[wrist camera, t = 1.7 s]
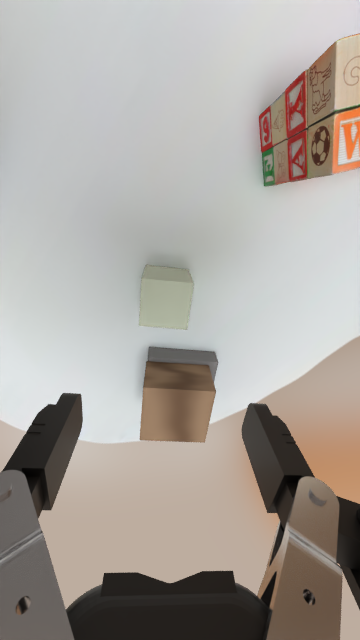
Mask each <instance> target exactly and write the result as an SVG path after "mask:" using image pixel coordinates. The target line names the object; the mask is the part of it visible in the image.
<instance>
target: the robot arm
mask: <svg viewBox="0 0 360 640" xmlns="http://www.w3.org/2000/svg"><path fill="white" fill-rule="evenodd" d="M82 421H83V417H82V400H81V394H73V393H63V394H62V395H61V397H60V398H59V400H58V402H57V404H56V405H52V404H48V405H47V406H46V407H45V408H44V409H42V410H41V411H40V412H39V413H38V414H37V416H36V417H35V419H34V421H33V422H32V425H30V427H29V429H28V430H27V433H26V434H25V435H24V437H23V439H22V440H21V442H20V443H19V445H18V447H17V448H16V450H15V452H14V453H13V455H12V457H11V458H10V460H9V461H8V463H7V465H6V466H5V468H4V469H3V471H2V472H1V473H0V640H340V624H341V599H342V571H343V573H344V575H345V578H346V580H347V582H348V585H349V587H350V589H351V591H352V594H353V596H354V598H355V600H356V602H357V605H358V607H359V609H360V504H358V503H355V502H352V501H349V500H346V499H343V498H340V497H338V496H336V495H335V494H334V492H333V491H332V490H331V489H330V487H328V486H327V485H326V484H325V483H324V482H322V481H320V480H319V479H317V478H315V477H314V475H313V473H312V471H311V469H310V468H309V466H308V464H307V462H306V461H305V459H304V457H303V455H302V453H301V451H300V450H299V448H298V446H297V445H296V444H295V443H296V442H295V441H294V439H293V437H292V436H291V433H290V431H289V430H288V428H287V426H286V424H285V423H284V422H283V421H282V420H281V419H280V418H278V416H272V414H271V412H270V410H269V408H268V406H267V405H266V404H256V403H250V404H249V405H248V408H247V412H246V415H245V418H244V422H243V425H242V438H243V441H244V444H245V447H246V450H247V453H248V456H249V459H250V462H251V465H252V468H253V471H254V474H255V477H256V480H257V483H258V486H259V489H260V492H261V495H262V498H263V501H264V504H265V507H266V510H267V513H277V514H278V516H279V519H280V521H279V524H278V527H277V531H276V535H275V538H274V542H273V546H272V549H271V553H270V557H269V561H268V564H267V568H266V571H265V575H264V578H263V580H262V583H261V586H260V588H259V591H258V595H257V596H256V595H255V594H254V593H253V592H251V591H250V590H249V589H247V588H245V587H243V586H242V585H240V584H238V583H235V580H234V575H233V571H202V572H200V573H197V574H195V575H192V576H189V577H187V578H185V579H182V580H180V581H177V582H174V583H166V582H163V581H159V580H157V579H154V578H151V577H148V576H146V575H143V574H140V573H104V577H103V584H102V585H99V586H97V587H95V588H93V589H91V590H89V591H87V592H86V593H84V594H83V595H82V596H80V597H79V598H78V599H77V600H75V601H74V602H73V603H72V604H71V605H70V606H69V607H68V608H67V609H65V606H64V603H63V600H62V596H61V593H60V589H59V586H58V582H57V579H56V576H55V572H54V569H53V565H52V562H51V558H50V555H49V551H48V548H47V545H46V541H45V538H44V535H43V532H42V531H41V528H40V524H39V521H38V518H39V516H40V513H41V511H42V510H51V509H52V507H53V504H54V501H55V499H56V496H57V493H58V490H59V488H60V485H61V483H62V480H63V477H64V474H65V472H66V469H67V467H68V464H69V461H70V459H71V456H72V453H73V450H74V448H75V445H76V442H77V440H78V437H79V434H80V432H81V428H82ZM337 563H339V564H340V566H339V565H337ZM341 569H342V570H341Z"/></svg>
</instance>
